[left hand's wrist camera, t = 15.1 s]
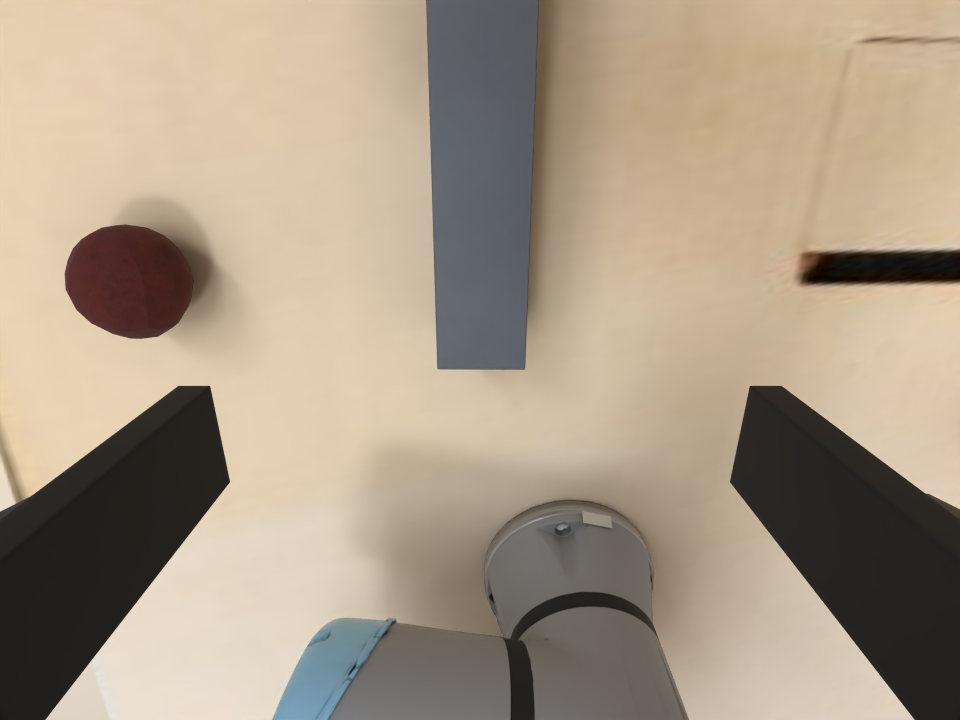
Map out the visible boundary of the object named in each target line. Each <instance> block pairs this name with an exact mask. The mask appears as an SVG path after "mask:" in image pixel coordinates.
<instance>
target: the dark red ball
mask: <svg viewBox="0 0 960 720" xmlns="http://www.w3.org/2000/svg"><path fill="white" fill-rule="evenodd" d="M65 285H66V291H67V293H68V295H69V297H70V298H71V300H72V302H73V304H74V306H75V308H76V310H77V311H78V312H79V313H81V314H82V315H83V316H84V317H85V318H86V319H87V320H88V321H89V322H91V323H92V324H94V325H96V326H98V327H100V328H102V329H104V330H106V331H108V332H110V333H112V334H115V335H119V336H123V337H127V338H135V339H143V338H150V337H158V336H160V335H161V334H163V333H165V332H166V331H168V330H169V329H171V328H172V327H174V326H175V325H176V324H177V323H179V321H180V319H181V318H182V316H183V314H184V313H185V311H186V309H187V307H188V306H189V303H190V300H191V294H192V288H193V278H192V274H191V271H190V267H189V265H188V263H187V261H186V260H185V258H184V256H183V254H182V253H181V252H180V250H179V249H178V248H177V247H176V246H175V245H174V243H172V242H171V241H170V240H169V239H167V238H166V237H165V236H163V235H161V234H159V233H157V232H155V231H153V230H151V229H148V228H144V227H138V226H131V225H116V226H110V227H103V228H100V229H98V230H96V231H95V232H93V233H91V234H89V235H87V236H86V237H84V238H83V239H81V240H80V241H79V243H78V244H77V245H76V246H75V247H74V248H73V250H72V252H71V254H70V256H69V259H68V262H67V266H66V270H65Z"/></svg>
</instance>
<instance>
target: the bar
mask: <svg viewBox="0 0 960 720" xmlns="http://www.w3.org/2000/svg"><path fill="white" fill-rule="evenodd" d="M426 7H427V40H428V73H429V107H430V140H431V173H432V206H433V239H434V272H435V305H436V339H437V369H525V358H526V331H527V304H528V278H529V251H530V224H531V197H532V171H533V144H534V117H535V91H536V64H537V37H538V10H539V0H426Z"/></svg>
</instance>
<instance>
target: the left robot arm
mask: <svg viewBox="0 0 960 720" xmlns="http://www.w3.org/2000/svg"><path fill="white" fill-rule="evenodd" d="M229 483H230V480H229V475H228V470H227V465H226V460H225V456H224V451H223V446H222V441H221V436H220V432H219V427H218V422H217V417H216V412H215V407H214V403H213V398H212V393H211V388H210V386H178V387H177V388H175V389H174V390H173V391H171V392H170V393H169V394H167V395H166V396H165V397H163V398H162V399H161V400H159V401H158V402H156V403H155V404H154V405H152V406H151V407H150V408H148V409H147V410H146V411H144V412H143V413H142V414H140V415H139V416H138V417H136V418H135V419H134V420H132V421H131V422H130V423H128V424H127V425H126V426H124V427H123V428H122V429H120V430H119V431H118V432H116V433H115V434H114V435H112V436H111V437H110V438H108V439H107V440H106V441H104V442H103V443H102V444H100V445H99V446H98V447H96V448H95V449H94V450H92V451H91V452H90V453H88V454H87V455H86V456H84V457H83V458H82V459H80V460H79V461H78V462H76V463H75V464H74V465H72V466H71V467H70V468H68V469H67V470H66V471H64V472H63V473H62V474H60V475H59V476H58V477H56V478H55V479H54V480H52V481H51V482H50V483H48V484H47V485H46V486H44V487H43V488H42V489H40V490H39V491H38V492H36V493H35V494H34V495H32V496H31V497H29V498H27V499H25V500H23V501H21V502H19V503H17V504H15V505H13V506H11V507H9V508H7V509H5V510H3V511H1V512H0V720H45V719H46V718H47V717H48V716H49V714H50V713H51V712H52V710H53V709H54V708H55V706H56V705H57V704H58V703H59V701H60V700H61V699H62V698H63V696H64V695H65V694H66V692H67V691H68V690H69V689H70V687H71V686H72V685H73V683H74V682H75V681H76V680H77V678H78V677H79V676H80V674H81V673H82V672H83V671H84V669H85V668H86V667H87V665H88V664H89V663H90V662H91V660H92V659H93V658H94V656H95V655H96V654H97V653H98V651H99V650H100V649H101V647H102V646H103V645H104V643H105V642H106V641H107V640H108V638H109V637H110V636H111V634H112V633H113V632H114V631H115V629H116V628H117V627H118V625H119V624H120V623H121V622H122V620H123V619H124V618H125V616H126V615H127V614H128V613H129V611H130V610H131V609H132V607H133V606H134V605H135V604H136V602H137V601H138V600H139V598H140V597H141V596H142V595H143V593H144V592H145V591H146V589H147V588H148V587H149V586H150V584H151V583H152V582H153V580H154V579H155V578H156V577H157V575H158V574H159V573H160V571H161V570H162V569H163V568H164V566H165V565H166V564H167V562H168V561H169V560H170V559H171V557H172V556H173V555H174V553H175V552H176V551H177V550H178V548H179V547H180V546H181V544H182V543H183V542H184V541H185V539H186V538H187V537H188V535H189V534H190V533H191V532H192V530H193V529H194V528H195V526H196V525H197V524H198V523H199V521H200V520H201V519H202V517H203V516H204V515H205V514H206V512H207V511H208V510H209V508H210V507H211V506H212V504H213V503H214V502H215V501H216V499H217V498H218V497H219V495H220V494H221V493H222V492H223V490H224V489H225V488H226V486H227V485H228V484H229ZM730 483H731V484H732V485H733V486H734V488H735V489H736V490H737V492H738V493H739V494H740V495H741V497H742V498H743V499H744V501H745V502H746V503H747V504H748V506H749V507H750V508H751V510H752V511H753V512H754V514H755V515H756V516H757V517H758V519H759V520H760V521H761V523H762V524H763V525H764V526H765V528H766V529H767V530H768V532H769V533H770V534H771V535H772V537H773V538H774V539H775V541H776V542H777V543H778V544H779V546H780V547H781V548H782V550H783V551H784V552H785V553H786V555H787V556H788V557H789V559H790V560H791V561H792V562H793V564H794V565H795V566H796V568H797V569H798V570H799V571H800V573H801V574H802V575H803V577H804V578H805V579H806V580H807V582H808V583H809V584H810V586H811V587H812V588H813V589H814V591H815V592H816V593H817V595H818V596H819V597H820V598H821V600H822V601H823V602H824V604H825V605H826V606H827V607H828V609H829V610H830V611H831V613H832V614H833V615H834V616H835V618H836V619H837V620H838V622H839V623H840V624H841V625H842V627H843V628H844V629H845V631H846V632H847V633H848V634H849V636H850V637H851V638H852V640H853V641H854V642H855V643H856V645H857V646H858V647H859V649H860V650H861V651H862V653H863V654H864V655H865V656H866V658H867V659H868V660H869V662H870V663H871V664H872V665H873V667H874V668H875V669H876V671H877V672H878V673H879V674H880V676H881V677H882V678H883V680H884V681H885V682H886V683H887V685H888V686H889V687H890V689H891V690H892V691H893V692H894V694H895V695H896V696H897V698H898V699H899V700H900V701H901V703H902V704H903V705H904V707H905V708H906V709H907V710H908V712H909V713H910V714H911V716H912V717H913V718H914V719H915V720H960V509H958V508H956V507H954V506H952V505H950V504H948V503H946V502H944V501H942V500H940V499H938V498H936V497H934V496H932V495H930V494H925V493H924V492H922V491H921V490H920V489H918V488H917V487H916V486H914V485H913V484H912V483H910V482H909V481H908V480H906V479H905V478H904V477H902V476H901V475H900V474H898V473H897V472H896V471H894V470H893V469H892V468H890V467H889V466H888V465H886V464H885V463H884V462H882V461H881V460H880V459H878V458H877V457H876V456H874V455H873V454H872V453H870V452H869V451H868V450H866V449H865V448H864V447H862V446H861V445H860V444H858V443H857V442H856V441H854V440H853V439H852V438H850V437H849V436H848V435H846V434H845V433H844V432H842V431H841V430H840V429H838V428H837V427H836V426H834V425H833V424H832V423H830V422H829V421H828V420H826V419H825V418H824V417H822V416H821V415H820V414H818V413H817V412H816V411H814V410H813V409H812V408H810V407H809V406H808V405H806V404H805V403H804V402H802V401H801V400H799V399H798V398H797V397H795V396H794V395H793V394H791V393H790V392H789V391H787V390H786V389H785V388H783V387H782V386H750V388H749V393H748V398H747V403H746V407H745V412H744V417H743V422H742V427H741V431H740V436H739V441H738V446H737V451H736V456H735V460H734V465H733V470H732V475H731V480H730ZM485 590H486V595H487V599H488V601H489V604H490V606H491V608H492V610H493V612H494V614H495V616H496V617H497V621H498V624H499V626H500V629H501V631H502V634H503V636H504V638H502V637H497V636H489V635H481V634H473V633H466V632H458V631H450V630H442V629H435V628H429V627H422V626H415V625H408V624H401V623H396V619H392V618H389V619H387V620H386V621H381V620H368V619H355V618H340V619H336V620H333V621H331V622H329V623H328V624H326V625H325V626H324V627H323V628H322V629H320V630H319V631H318V633H317V634H316V635H315V636H314V637H313V639H312V640H311V642H310V643H309V645H308V646H307V648H306V649H305V651H304V653H303V655H302V656H301V658H300V660H299V662H298V664H297V666H296V668H295V670H294V672H293V674H292V676H291V678H290V680H289V682H288V684H287V687H286V689H285V691H284V693H283V696H282V698H281V700H280V702H279V705H278V707H277V710H276V712H275V714H274V717H273V719H272V720H689V718H688V716H687V713H686V711H685V708H684V705H683V703H682V700H681V697H680V695H679V692H678V689H677V687H676V684H675V681H674V679H673V676H672V673H671V671H670V668H669V666H668V663H667V660H666V658H665V655H664V652H663V650H662V647H661V644H660V642H659V639H658V636H657V634H656V631H655V628H654V626H653V614H652V590H653V565H652V561H651V558H650V555H649V553H648V550H647V548H646V545H645V543H644V541H643V539H642V537H641V535H640V533H639V532H638V530H637V529H636V528H635V527H634V526H633V524H632V523H631V522H629V521H628V520H627V519H626V518H625V517H623V516H622V515H620V514H619V513H617V512H615V511H614V510H611V509H609V508H607V507H604V506H601V505H598V504H594V503H590V502H583V501H559V502H553V503H548V504H544V505H540V506H537V507H534V508H532V509H529V510H527V511H525V512H523V513H521V514H520V515H518V516H516V517H515V518H513V519H512V520H511V521H510V522H508V523H507V524H506V525H505V526H504V527H503V528H502V529H501V530H500V531H499V532H498V534H497V535H496V536H495V538H494V539H493V541H492V543H491V545H490V546H489V549H488V552H487V555H486V559H485Z"/></svg>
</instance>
